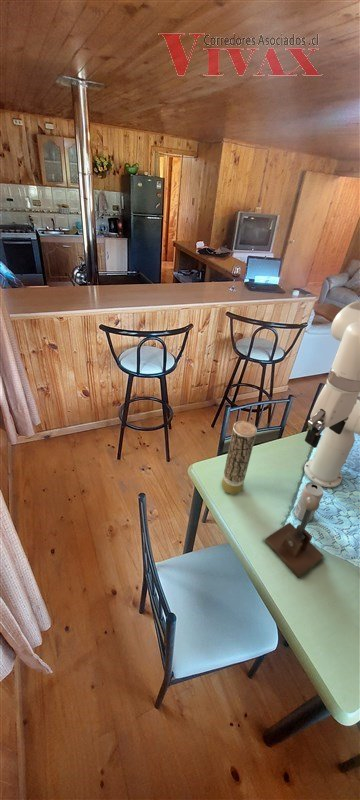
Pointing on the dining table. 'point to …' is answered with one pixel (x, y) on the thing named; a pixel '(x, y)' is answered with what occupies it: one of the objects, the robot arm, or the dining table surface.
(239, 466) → the wooden log
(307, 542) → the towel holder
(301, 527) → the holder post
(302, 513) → the energy drink
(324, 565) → the dining table surface
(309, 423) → the robot arm
